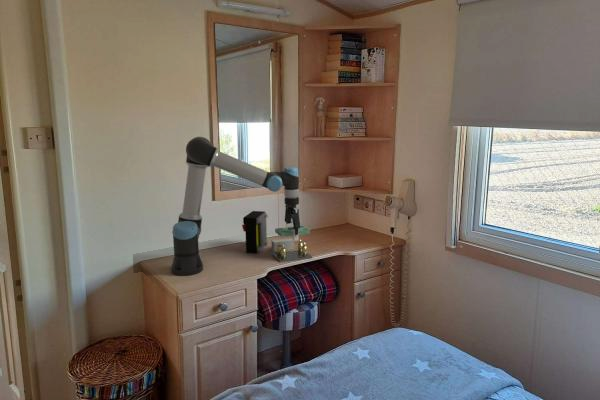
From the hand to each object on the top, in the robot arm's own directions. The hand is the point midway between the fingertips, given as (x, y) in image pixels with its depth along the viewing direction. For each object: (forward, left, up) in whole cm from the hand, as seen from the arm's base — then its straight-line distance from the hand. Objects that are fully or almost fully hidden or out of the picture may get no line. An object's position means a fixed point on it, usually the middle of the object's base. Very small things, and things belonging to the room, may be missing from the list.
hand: (292, 237), depth 232 cm
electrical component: (-14, +21, -11) cm, 28 cm away
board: (0, 0, +3) cm, 3 cm away
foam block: (0, +15, -10) cm, 18 cm away
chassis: (0, 0, -10) cm, 10 cm away
